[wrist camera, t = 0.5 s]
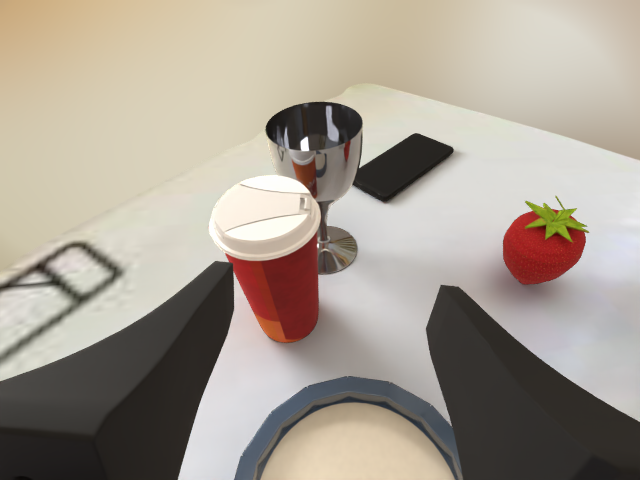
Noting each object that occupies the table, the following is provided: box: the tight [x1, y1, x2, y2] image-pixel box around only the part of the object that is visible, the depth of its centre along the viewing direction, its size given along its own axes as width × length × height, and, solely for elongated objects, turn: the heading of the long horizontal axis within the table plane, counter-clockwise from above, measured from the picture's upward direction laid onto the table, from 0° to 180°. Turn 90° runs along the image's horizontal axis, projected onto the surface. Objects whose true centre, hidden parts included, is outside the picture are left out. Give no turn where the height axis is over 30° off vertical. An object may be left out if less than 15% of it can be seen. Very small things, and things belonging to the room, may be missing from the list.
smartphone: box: [353, 133, 454, 201], centre depth 49 cm, size 7×1×15 cm
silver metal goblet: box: [266, 102, 363, 274], centre depth 35 cm, size 8×8×15 cm
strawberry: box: [503, 196, 589, 284], centre depth 32 cm, size 6×8×10 cm
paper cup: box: [209, 175, 321, 343], centre depth 29 cm, size 8×8×14 cm
